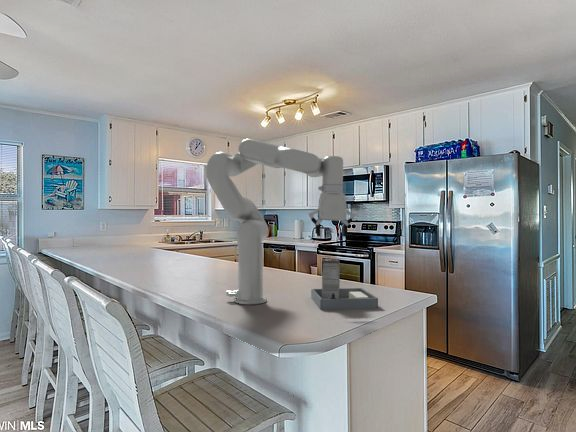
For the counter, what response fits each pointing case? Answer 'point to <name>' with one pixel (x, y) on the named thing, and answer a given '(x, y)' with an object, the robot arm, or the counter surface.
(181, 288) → the counter surface
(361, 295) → the cream rectangular block
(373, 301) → the tote
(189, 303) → the counter surface
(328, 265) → the coffee box
